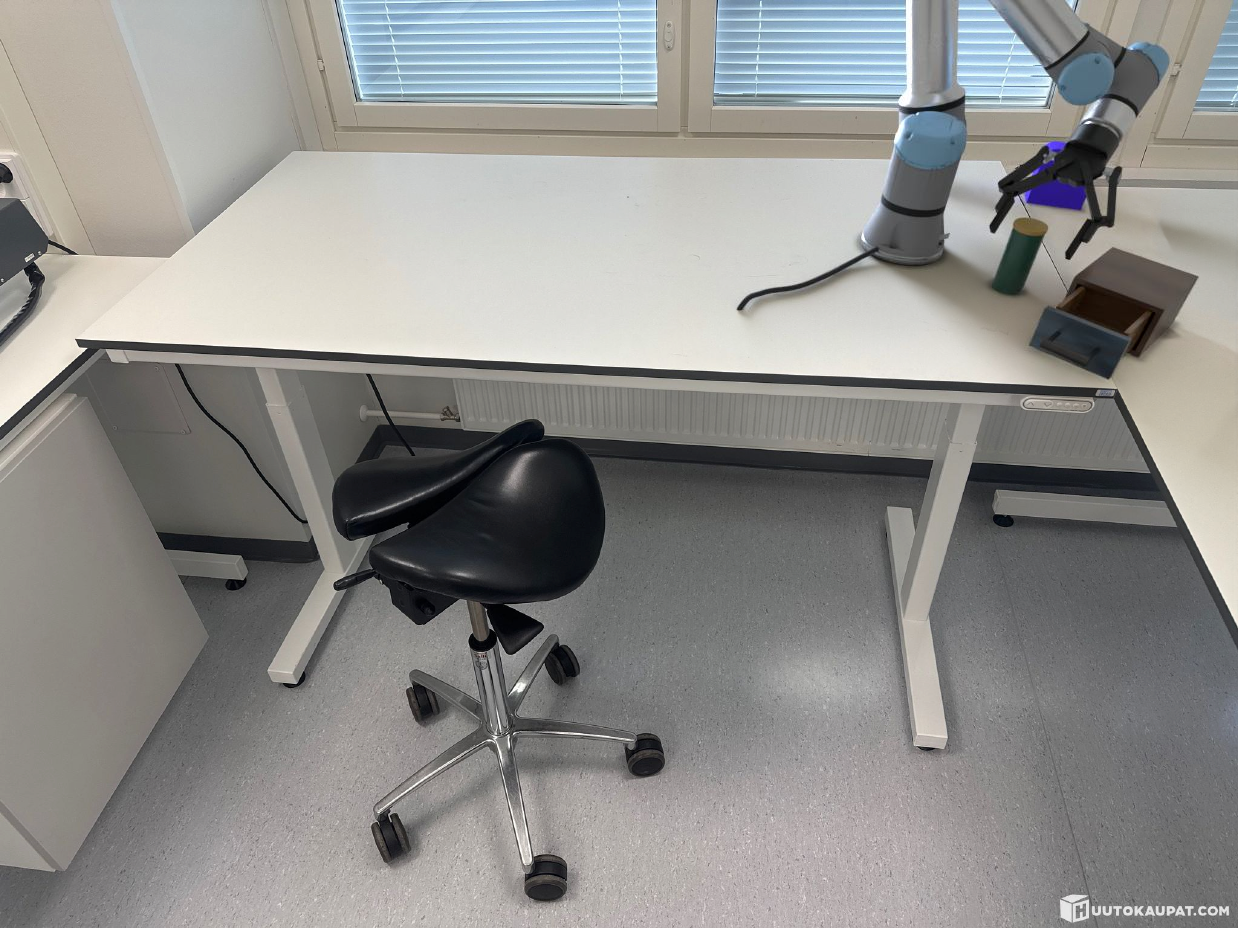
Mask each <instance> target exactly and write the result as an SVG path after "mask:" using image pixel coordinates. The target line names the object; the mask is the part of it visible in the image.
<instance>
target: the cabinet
mask: <svg viewBox="0 0 1238 928" xmlns="http://www.w3.org/2000/svg"><path fill="white" fill-rule="evenodd" d="M1199 278H1200V276H1199V275H1196V274H1193V273H1190V272H1188V271H1185V270H1182V269H1179V268H1176V267H1173V266H1171V265H1167V264H1164V263H1161V262H1158V261H1155V260H1152V259H1150V258H1147V257H1144V256H1141V255H1137V254H1135V253H1132V252H1128V251H1126V250H1124V249H1121V248H1120V249H1119V248H1118V247H1114V246H1111V248H1110V249H1108V250H1107V251H1105V252H1104V253H1103V254H1101V255H1100V256H1099V257H1098V258H1096V259H1095V260H1094V261H1093V262H1091V263H1090V264H1089V265H1087V266H1086V267H1085V268H1084V269H1082V270H1081V271H1080V272H1079V273H1077V274H1076V275H1075V276H1074V277H1073V278H1072V281H1071V284H1070V285H1069V288H1068V289H1067V292H1066V295H1065V297H1064V299H1065V298H1067V297H1068V296H1069V295H1070V294H1072V293H1073V292H1074V291H1075V290H1077V289H1078V288H1079V287H1080V286H1082V285H1083V286H1086V287H1088V288H1091V289H1094V290H1096V291H1099V292H1102V293H1104V294H1107V295H1110V296H1113V297H1115V298H1118V299H1121V300H1123V301H1126V302H1129V303H1131V304H1134V305H1137V306H1139V307H1142V308H1145V309H1147V310H1150V311H1153V312H1155V314H1154V316H1153V317H1152V319H1151V321H1150V323H1149V325H1148V327H1147V329H1146V331H1145V332H1144V334H1143V336H1142V338H1141V340H1140V341H1139V342H1138V343H1137V344H1136V345H1135V346H1134V347H1133V348H1132V349H1131V350H1130V351H1129V352H1128V353H1127V354H1126V355H1130V356H1132V357H1134V358H1137V359H1139V358H1140V357H1141V356H1142V355H1143V354H1144V353H1145V352H1146V351H1147V350H1148V349H1149V348H1150V347H1151V346H1152V345H1153V344H1154V343H1155V342H1156V341H1157V340H1158V339H1159V338H1160V337H1161V336H1162V335H1163V334H1164V333H1165V332H1166V331H1167V330H1168V329H1169V328H1170V327H1171V326H1172V325H1173V324H1174V322H1175V321H1176V318H1177V317H1178V315H1179V313H1180V311H1181V309H1182V308H1183V306H1184V305H1185V303H1186V301H1187V299H1188V298H1189V296H1190V294H1191V292H1192V290H1193V288H1194V286H1195V284H1196V283H1197V281H1198V279H1199Z"/></svg>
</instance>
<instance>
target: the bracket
mask: <svg viewBox="0 0 1238 928" xmlns="http://www.w3.org/2000/svg"><path fill="white" fill-rule="evenodd" d="M1066 143H1067V142H1064V141H1056V140H1054V141H1049V142H1048V143H1046V144H1045V145H1047V146H1049V150H1051V151H1054V152H1056V153H1058V152H1060V151H1061V150H1062V149H1063V148H1064V146H1065V145H1066ZM1053 164H1054V160H1051V161H1049V162H1048V163H1047V164H1045V163H1044V164H1043V165H1042V166H1041V167H1039V168H1038V169H1037V170H1035V171H1034V172H1032V173H1031V176H1032V175H1035V174H1037V173H1039V172H1041V171H1043V170H1045V169H1046V168H1047V167H1049V166H1051V165H1053ZM1054 173H1055V172H1054ZM1094 181H1095V180H1093V182H1094ZM1024 200H1025V203H1026V204H1030V205H1038V206H1045V207H1053V208H1058V209H1059V208H1060V209H1067V210H1073V211H1082V209H1083V206H1084V204H1085V201H1086V200H1087V198H1086V194H1085V191H1084V187H1083V186H1080V187H1077V188H1076V187H1072V186H1071V185H1069V184H1062V183H1059V181H1058V180H1055V181H1053V182H1051V183H1045V184H1043V185H1041V186H1039V187H1036V188H1034V189H1032V190H1030V191H1027V192H1025V193H1024Z"/></svg>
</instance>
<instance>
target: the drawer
mask: <svg viewBox="0 0 1238 928" xmlns="http://www.w3.org/2000/svg"><path fill="white" fill-rule="evenodd" d="M1154 314H1155V312H1153V311H1150V310H1147V309H1145V308H1142V307H1139V306H1137V305H1134V304H1131V303H1129V302H1126V301H1123V300H1121V299H1118V298H1115V297H1113V296H1110V295H1107V294H1104V293H1102V292H1099V291H1096V290H1094V289H1091V288H1088V287H1086V286H1083V285H1082V286H1080V287H1079V288H1078V289H1077V290H1075V291H1074V292H1073V293H1072V294H1070V295H1069V296H1068V297H1067V298H1065V297H1064V299H1063V300H1062V301H1061V302H1059V303H1058V304H1056V306H1055V307H1053V306H1051V305H1046V306H1045V307H1044V309H1043V311H1042V314H1041V316H1040V318H1039V321H1038V322H1037V325H1036V328H1035V330H1034V332H1033V334H1032V337H1031V339H1030V341H1029V344H1028V346H1029V347H1031V348H1033V349H1035V350H1038V351H1041V352H1042V353H1044V354H1048V355H1050V356H1052V357H1055V358H1057V359H1059V360H1061V361H1063V362H1066V363H1068V364H1070V365H1073V366H1075V367H1077V368H1080V369H1082V370H1084V371H1087V372H1089V373H1092V374H1094V375H1096V376H1099V377H1101V378H1104V379H1106V380H1108V381H1109V380H1110V379H1111V378H1113V376H1114V373H1115V372H1116V370H1117V368H1118V366H1119V365H1120V362H1121V360H1122V359H1123V358H1124V357H1126V355H1128V354H1127V353H1128V352H1129V351H1130V350H1131V349H1132V348H1133V347H1134V346H1135V345H1136V344H1137V343H1138V342H1139V341H1140V340H1141V338H1142V336H1143V334H1144V332H1145V331H1146V329H1147V327H1148V325H1149V323H1150V321H1151V319H1152V317H1153V316H1154Z"/></svg>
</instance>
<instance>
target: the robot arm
mask: <svg viewBox="0 0 1238 928" xmlns="http://www.w3.org/2000/svg"><path fill="white" fill-rule="evenodd" d="M905 1H906V3H905V4H906V5H905V9H906V10H905V12H906V90H905V92H904V93H903V94H902V95H901V96H900V97H899V99H898V130H897V132H896V133H895V136H894V142H893V143H894V145H893V149H892V153H891V157H890V161H889V166H888V169H887V173H886V176H885V181H884V185H883V189H882V193H881V197H880V200H879V204H878V205H877V207H876V209H875V210H874V212H873V213H872V215H871V217H870V219H869V220H868V222H867V224H866V225H865V226H864V228H863V230H862V234H861V238H860V245H861V247H862V248H863V249H864V250H865V252H862V253H861V254H859V255H857V256H855V257H853V258H851V259H849V260H848V261H845V262H844V263H842V264H839V265H838V266H836V267H834V268H832V269H830V270H828V271H826V272H824V273H822V274H820V275H817V276H815V277H813V278H810V279H808V280H805V281H802V282H799V283H796V284H792V285H784V286H776V287H770V288H769V287H768V288H763V289H761V290H757V291H754V292H750V293H749V294H747V295H746V296H745V297H744V298H743V299H742V300H741V302H740V303H739V304H738V305H737V308H736V311H740V312H741V311H743V310H744V308H745V307H746V306H747V304H748V303H750V301H751V300H753V299H756V298H759V297H763V296H767V295H771V294H776V293H786V292H792V291H797V290H801V289H804V288H807V287H810V286H813V285H815V284H817V283H820V282H821V281H823V280H827V279H828V278H830V277H832V276H834V275H836V274H839V273H840V272H842V271H843V270H846V269H847V268H849V267H851V266H853V265H854V264H856V263H858V262H860V261H862V260H864V259H865V258H868V257H870V256H873V257H875V258H877V259H879V260H883V261H885V262H889V263H893V264H897V265H898V264H899V265H905V266H922V265H927V264H931V263H935V262H936V261H938V260H939V259H940V258H941V257H942V254H943V251H944V248H945V240H947V239H949V237H950V234H951V233H950V232H948V233H947V232H946V233H945V217H944V216H945V210H946V207H947V204H948V201H949V199H950V195H951V193H952V188H953V185H954V181H955V178H956V175H957V173H958V170H959V169H958V168H959V165H960V162H961V160H962V155H963V154H964V153H965V150H966V146H967V138H968V129H967V125H968V123H967V119H966V89H965V88H964V87H963V86H962V85H960V84H959V82H958V51H959V49H958V48H959V47H958V46H959V11H960V10H959V8H960V7H959V6H960V5H959V4H960V3H959V2H960V0H905ZM987 1H988V2H989V3H990V5H991V6H992V8H994V10H995V11H996V12H997V13H998V14H999V16H1000V17H1001V18H1002V19H1003V21H1004V22H1005V23H1006V24H1007V25H1008V26H1009V28H1010V29H1011V30H1012V31H1013V33H1014V34H1015V35H1016V36H1017V38H1019V40H1020V41H1021V43H1022V44H1023V45H1024V46H1025V47H1026V48H1027V49H1028V51H1029V52H1030V53H1031V55H1032V56H1033V57H1034V58H1035V59H1036V61H1037V62H1038V63H1039V64H1040V65H1041V67H1042V68H1043V69H1044V71H1045V72H1046V73H1047V75H1048V76H1049V78H1050V79H1051V80H1052V81H1053V82H1054V84H1055V85H1056V88H1057V91H1058V94H1059V96H1061V98H1062V99H1063V100H1064V101H1065V102H1066V103H1068V104H1069V105H1073V106H1078V107H1079V106H1080V107H1081V106H1087V105H1090V106H1089V108H1088V109H1087V111H1085V114H1084V115H1083V117H1082V118H1081V120H1080V121H1079V123H1078V126H1076V128H1075V129H1074V131H1073V133H1072V134H1071V135H1070V137H1069V138H1068V140H1067V141H1066V142H1065V143H1066V145H1065V146H1064V148H1063V149H1062V150H1061V151H1060V152H1058V153H1056V152H1054V151H1051V150H1049V146H1047V145H1046V144H1044V145H1042V147H1041V148H1040V149H1039V150H1038V152H1037V153H1036V154H1035V155H1034V156H1032V157H1030V159H1028V160H1026V161H1025V162H1024V163H1022V164H1021V165H1020V166H1018V167H1017V168H1015V169H1013V171H1011V172H1010V173H1008V174H1006V176H1004V177H1003V178H1001V179H1000V180H999V181H998V182H997V188H998V192H999V193H1000V194H1002V195H1001V197H1000V198H999V200H998V201H997V203H996V204H995V207H994V211H995V213H996V214H995V216H994V217H993V219H992V220H991V221H990V223H989V225H988V227H989V233H991V234H996V232H997V231H998V229H999V228H1000V226H1001V224H1002V223H1003V222H1004V220H1005V218H1006V217H1007V215H1008V214H1009V212H1010V210H1011V209H1012V207H1013V206H1014V204H1015V202H1016V200H1015V198H1016V197H1019V196H1021V195H1023V194H1025V193H1026V192H1027V191H1030V190H1032V189H1034V188H1036V187H1039V186H1041V185H1043V184H1045V183H1051V182H1053V181H1055V180H1058V181H1059V183H1062V184H1069V185H1071V186H1072V187H1076V188H1077V187H1080V186H1083V187H1084V191H1085V194H1086V201H1087V202H1086V203H1087V206H1088V210H1089V214H1090V218H1086V220H1085V221H1084V223H1083V224H1082V225H1081V227H1080V229H1079V230H1078V232H1077V233H1076V234H1075V236H1074V237H1073V239H1072V240H1071V242H1070V244H1069V245H1068V247H1067V249H1066V250H1065V252H1064V258H1065V260H1067V261H1071V260H1072V258H1073V256H1074V255H1075V253H1076V252H1077V250H1078V249H1079V248H1080V246H1081V245H1082V243H1084V244H1089V243H1090V242H1091V240H1092V239H1093V237H1094V235H1095V234H1096V232H1097V231H1098V229H1100V228H1102V227H1103V228H1104V227H1106V228H1108V229H1111V228H1113V227H1114V226H1115V222H1116V221H1115V220H1116V209H1117V208H1116V207H1117V192H1118V191H1117V190H1118V185H1119V183H1120V181H1121V179H1122V175H1123V167H1122V166H1121V165H1118V166H1117V165H1116V166H1115V167H1114V168H1113V167H1108V166H1107V165H1108V163H1109V161H1110V160H1111V158H1112V157H1113V156H1114V154H1115V152H1116V151H1117V150H1118V147H1119V146H1120V143H1121V142H1122V141H1123V140H1124V138H1125V137H1126V136H1127V134H1128V132H1129V131H1130V129H1131V127H1132V126H1133V125H1134V124H1135V122H1136V119H1137V118H1138V116H1139V115H1140V114H1141V111H1142V110H1143V109H1144V107H1145V106H1146V104H1147V103H1148V101H1149V100H1150V98H1151V97H1152V96H1153V94H1154V93H1155V91H1156V90H1158V88H1159V86H1160V84H1161V82H1162V80H1163V79H1164V77H1165V75H1166V73H1167V71H1168V69H1169V67H1170V62H1171V59H1170V56H1169V53H1168V52H1167V50H1166V49H1164V48H1163V47H1162V46H1160V45H1158V44H1156V43H1155V44H1151V43H1150V42H1148V41H1139V42H1135V43H1133V44H1131V45H1129V46H1128V47H1124V46H1123V45H1121V44H1119V43H1118V42H1116V41H1114V39H1113V40H1112V39H1111V38H1110V37H1108V36H1106V35H1105V34H1103V33H1102V32H1100V31H1099V30H1097V29H1096V28H1094V27H1092V26H1091V24H1090V23H1089V22H1084V21H1082V19H1081V18H1080V17H1079V16H1078V15H1077V13H1076V12H1075V10H1074V9H1073V8H1072V7H1071V6H1070V4H1069V3H1068V2H1067V1H1066V0H987ZM1051 160H1054V164H1053V165H1051V166H1049V167H1047V168H1046V169H1045V170H1043V171H1041V172H1039V173H1037V174H1035V175H1032V174H1033V172H1034V171H1035V170H1037V169H1038V168H1039V167H1041V166H1042V165H1043V164H1044V163H1045V164H1047V163H1048V162H1049V161H1051ZM1054 172H1055V173H1054ZM1030 175H1031V176H1030ZM1103 176H1104V177H1105V182H1106V183H1108V187H1107V189H1108V191H1107V203H1106V205H1107V206H1106V215H1102V213H1101V208H1100V204H1099V200H1098V197H1097V192H1096V189H1095V188H1096V187H1095V183H1094V181H1096V180H1097V179H1099V178H1101V177H1103ZM1093 180H1094V181H1093Z"/></svg>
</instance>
